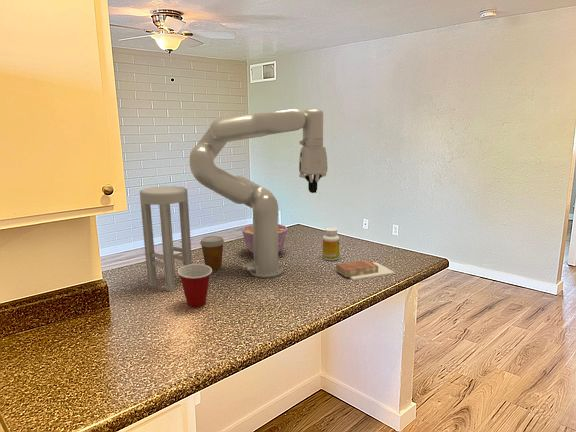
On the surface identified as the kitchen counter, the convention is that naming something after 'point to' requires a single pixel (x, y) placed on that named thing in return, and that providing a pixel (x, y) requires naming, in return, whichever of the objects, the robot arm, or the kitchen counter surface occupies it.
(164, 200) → the stool
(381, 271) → the mat
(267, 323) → the kitchen counter surface
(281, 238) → the bowl of food
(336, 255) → the supplement bottle
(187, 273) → the plastic cup
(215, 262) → the disposable coffee cup
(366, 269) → the slab
